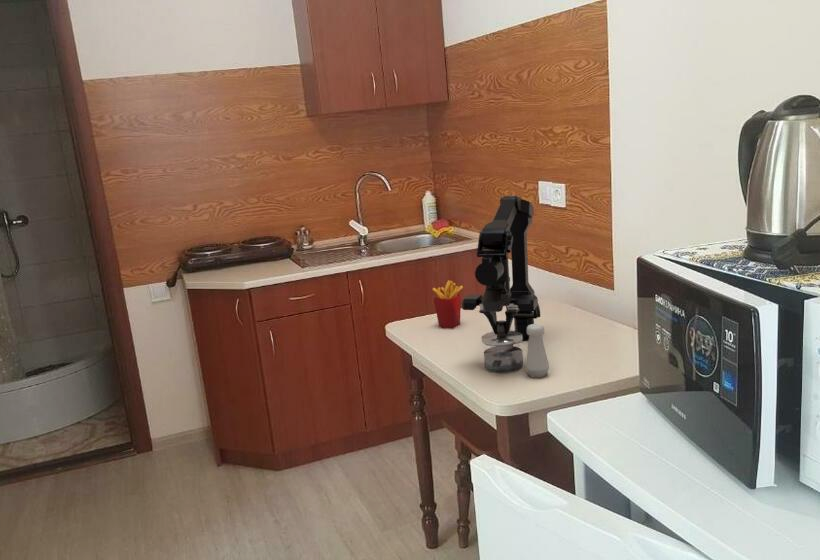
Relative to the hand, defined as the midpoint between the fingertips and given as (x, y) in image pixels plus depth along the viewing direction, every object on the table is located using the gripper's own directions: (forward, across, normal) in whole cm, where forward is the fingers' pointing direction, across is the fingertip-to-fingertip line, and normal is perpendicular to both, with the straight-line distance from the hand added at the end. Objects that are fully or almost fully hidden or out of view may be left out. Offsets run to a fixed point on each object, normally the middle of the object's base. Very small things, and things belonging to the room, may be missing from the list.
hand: (501, 334), depth 187 cm
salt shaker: (+9, +10, -5) cm, 14 cm away
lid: (+1, 0, 0) cm, 1 cm away
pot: (+9, 0, 0) cm, 9 cm away
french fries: (+9, -25, +34) cm, 43 cm away
